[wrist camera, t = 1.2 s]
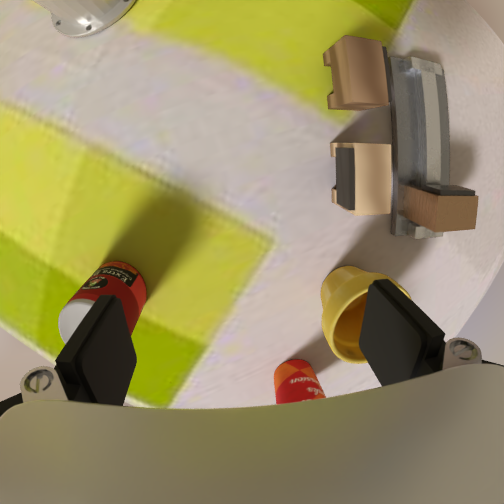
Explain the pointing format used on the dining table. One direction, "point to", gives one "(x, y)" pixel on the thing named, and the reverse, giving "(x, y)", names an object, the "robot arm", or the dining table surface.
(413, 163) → the rail
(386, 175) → the tan notched block
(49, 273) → the dining table surface
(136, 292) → the canned food
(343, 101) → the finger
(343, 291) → the plant pot
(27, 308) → the dining table surface
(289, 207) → the dining table surface
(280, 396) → the coffee cup
